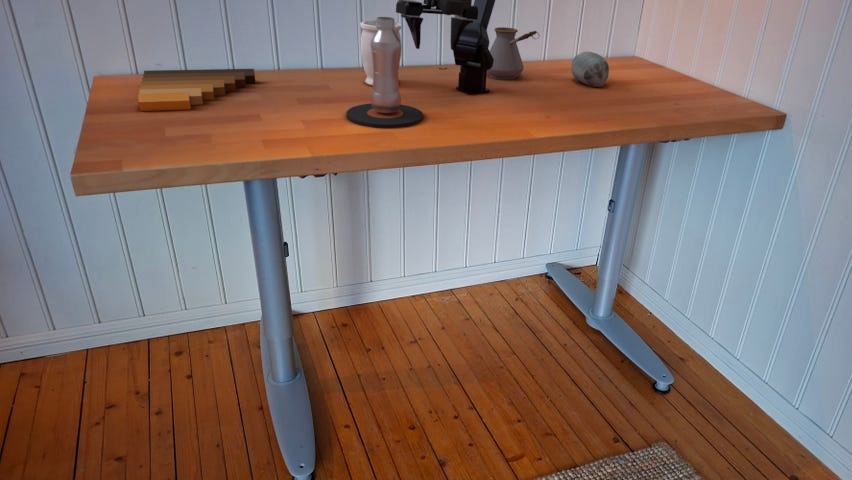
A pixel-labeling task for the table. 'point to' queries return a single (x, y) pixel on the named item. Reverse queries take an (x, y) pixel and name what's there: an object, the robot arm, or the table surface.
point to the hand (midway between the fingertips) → (435, 49)
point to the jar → (366, 37)
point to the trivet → (384, 116)
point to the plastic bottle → (385, 67)
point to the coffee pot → (507, 54)
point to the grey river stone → (590, 69)
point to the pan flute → (188, 87)
